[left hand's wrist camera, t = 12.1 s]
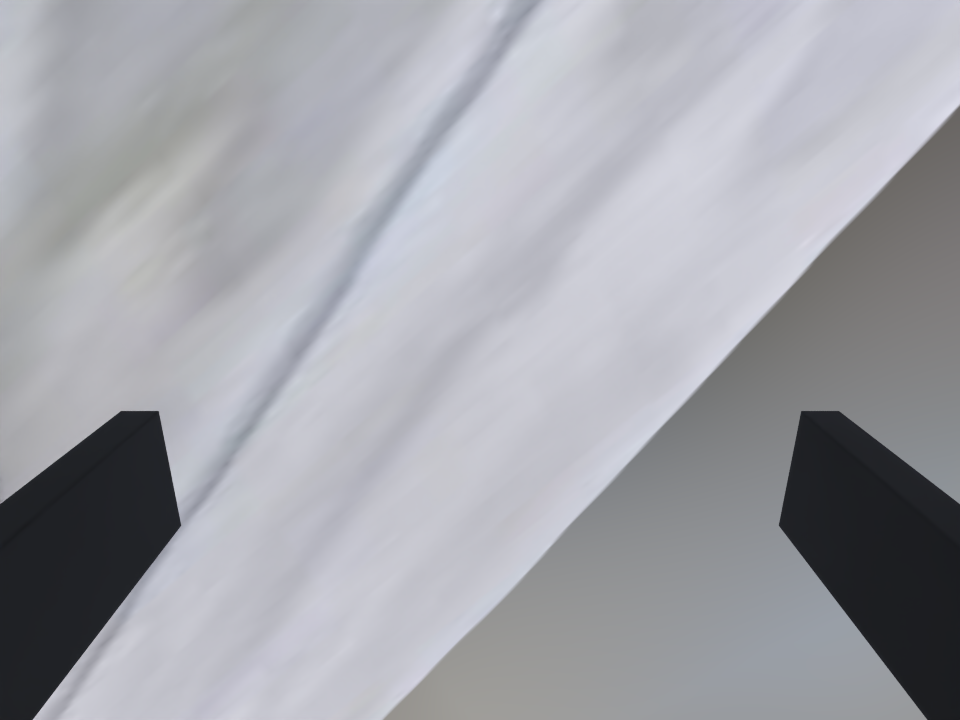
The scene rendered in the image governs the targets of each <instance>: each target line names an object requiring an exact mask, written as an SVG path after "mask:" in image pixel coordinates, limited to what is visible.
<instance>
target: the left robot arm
mask: <svg viewBox="0 0 960 720" xmlns="http://www.w3.org/2000/svg"><path fill="white" fill-rule="evenodd" d="M180 526H181V522H180V517H179V512H178V507H177V502H176V497H175V492H174V487H173V482H172V477H171V472H170V467H169V461H168V456H167V451H166V446H165V441H164V436H163V431H162V426H161V421H160V416H159V411H121V412H119V413H118V414H117V415H115V416H114V417H113V418H112V419H110V420H109V421H108V422H106V423H105V424H104V425H103V426H101V427H100V428H99V429H97V430H96V431H95V432H93V433H92V434H91V435H90V436H88V437H87V438H86V439H84V440H83V441H82V442H80V443H79V444H78V445H77V446H75V447H74V448H73V449H71V450H70V451H69V452H67V453H66V454H65V455H64V456H62V457H61V458H60V459H58V460H57V461H56V462H54V463H53V464H52V465H51V466H49V467H48V468H47V469H45V470H44V471H43V472H41V473H40V474H39V475H38V476H36V477H35V478H34V479H32V480H31V481H30V482H28V483H27V484H26V485H25V486H23V487H22V488H21V489H19V490H18V491H17V492H15V493H14V494H13V495H12V496H10V497H9V498H8V499H6V500H5V501H4V502H3V503H1V504H0V720H33V718H34V717H35V716H36V715H37V713H38V712H39V711H40V709H41V708H42V707H43V705H44V704H45V703H46V701H47V700H48V699H49V698H50V696H51V695H52V694H53V692H54V691H55V690H56V688H57V687H58V686H59V684H60V683H61V682H62V681H63V679H64V678H65V677H66V675H67V674H68V673H69V671H70V670H71V669H72V668H73V666H74V665H75V664H76V662H77V661H78V660H79V658H80V657H81V656H82V654H83V653H84V652H85V651H86V649H87V648H88V647H89V645H90V644H91V643H92V641H93V640H94V639H95V637H96V636H97V635H98V634H99V632H100V631H101V630H102V628H103V627H104V626H105V624H106V623H107V622H108V620H109V619H110V618H111V617H112V615H113V614H114V613H115V611H116V610H117V609H118V607H119V606H120V605H121V603H122V602H123V601H124V600H125V598H126V597H127V596H128V594H129V593H130V592H131V590H132V589H133V588H134V586H135V585H136V584H137V583H138V581H139V580H140V579H141V577H142V576H143V575H144V573H145V572H146V571H147V569H148V568H149V567H150V566H151V564H152V563H153V562H154V560H155V559H156V558H157V556H158V555H159V554H160V552H161V551H162V550H163V549H164V547H165V546H166V545H167V543H168V542H169V541H170V539H171V538H172V537H173V535H174V534H175V533H176V532H177V530H178V529H179V528H180ZM779 526H780V528H781V529H782V530H783V532H784V533H785V534H786V535H787V537H788V538H789V539H790V541H791V542H792V543H793V545H794V546H795V547H796V549H797V550H798V551H799V552H800V554H801V555H802V556H803V558H804V559H805V560H806V562H807V563H808V564H809V566H810V567H811V568H812V569H813V571H814V572H815V573H816V575H817V576H818V577H819V579H820V580H821V581H822V583H823V584H824V585H825V586H826V588H827V589H828V590H829V592H830V593H831V594H832V596H833V597H834V598H835V600H836V601H837V602H838V603H839V605H840V606H841V607H842V609H843V610H844V611H845V613H846V614H847V615H848V617H849V618H850V619H851V620H852V622H853V623H854V624H855V626H856V627H857V628H858V630H859V631H860V632H861V634H862V635H863V636H864V637H865V639H866V640H867V641H868V643H869V644H870V645H871V647H872V648H873V649H874V650H875V652H876V653H877V654H878V656H879V657H880V658H881V660H882V661H883V662H884V664H885V665H886V666H887V668H888V669H889V670H890V671H891V673H892V674H893V675H894V677H895V678H896V679H897V681H898V682H899V683H900V684H901V686H902V687H903V688H904V690H905V691H906V692H907V694H908V695H909V696H910V698H911V699H912V700H913V701H914V703H915V704H916V705H917V707H918V708H919V709H920V711H921V712H922V713H923V715H924V716H925V717H926V718H927V720H960V504H959V503H957V502H956V501H955V500H954V499H952V498H951V497H950V496H948V495H947V494H946V493H944V492H943V491H942V490H941V489H939V488H938V487H937V486H935V485H934V484H933V483H931V482H930V481H929V480H928V479H926V478H925V477H924V476H922V475H921V474H920V473H919V472H917V471H916V470H915V469H913V468H912V467H911V466H909V465H908V464H907V463H906V462H904V461H903V460H902V459H900V458H899V457H898V456H896V455H895V454H894V453H893V452H891V451H890V450H889V449H887V448H886V447H885V446H883V445H882V444H881V443H880V442H878V441H877V440H876V439H874V438H873V437H872V436H870V435H869V434H868V433H867V432H865V431H864V430H863V429H861V428H860V427H859V426H857V425H856V424H855V423H854V422H852V421H851V420H850V419H848V418H847V417H846V416H844V415H843V414H842V413H841V412H839V411H801V416H800V421H799V426H798V431H797V436H796V441H795V446H794V451H793V457H792V461H791V467H790V472H789V477H788V482H787V487H786V492H785V497H784V502H783V507H782V512H781V518H780V523H779Z"/></svg>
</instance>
